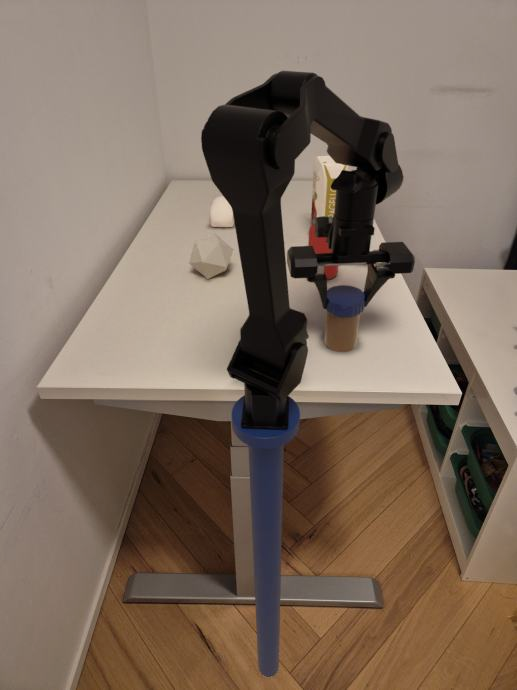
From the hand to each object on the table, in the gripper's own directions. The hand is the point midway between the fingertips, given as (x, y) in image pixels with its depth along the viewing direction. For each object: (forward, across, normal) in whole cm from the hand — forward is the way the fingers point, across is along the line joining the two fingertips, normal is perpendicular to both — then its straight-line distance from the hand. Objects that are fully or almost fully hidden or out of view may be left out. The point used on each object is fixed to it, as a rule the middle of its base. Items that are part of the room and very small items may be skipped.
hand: (344, 306), depth 77 cm
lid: (-2, 0, 0) cm, 2 cm away
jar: (+7, 0, 0) cm, 7 cm away
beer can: (+7, -1, -25) cm, 26 cm away
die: (+7, +23, -28) cm, 37 cm away
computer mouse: (+7, +20, -59) cm, 63 cm away
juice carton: (+7, -6, -44) cm, 45 cm away
